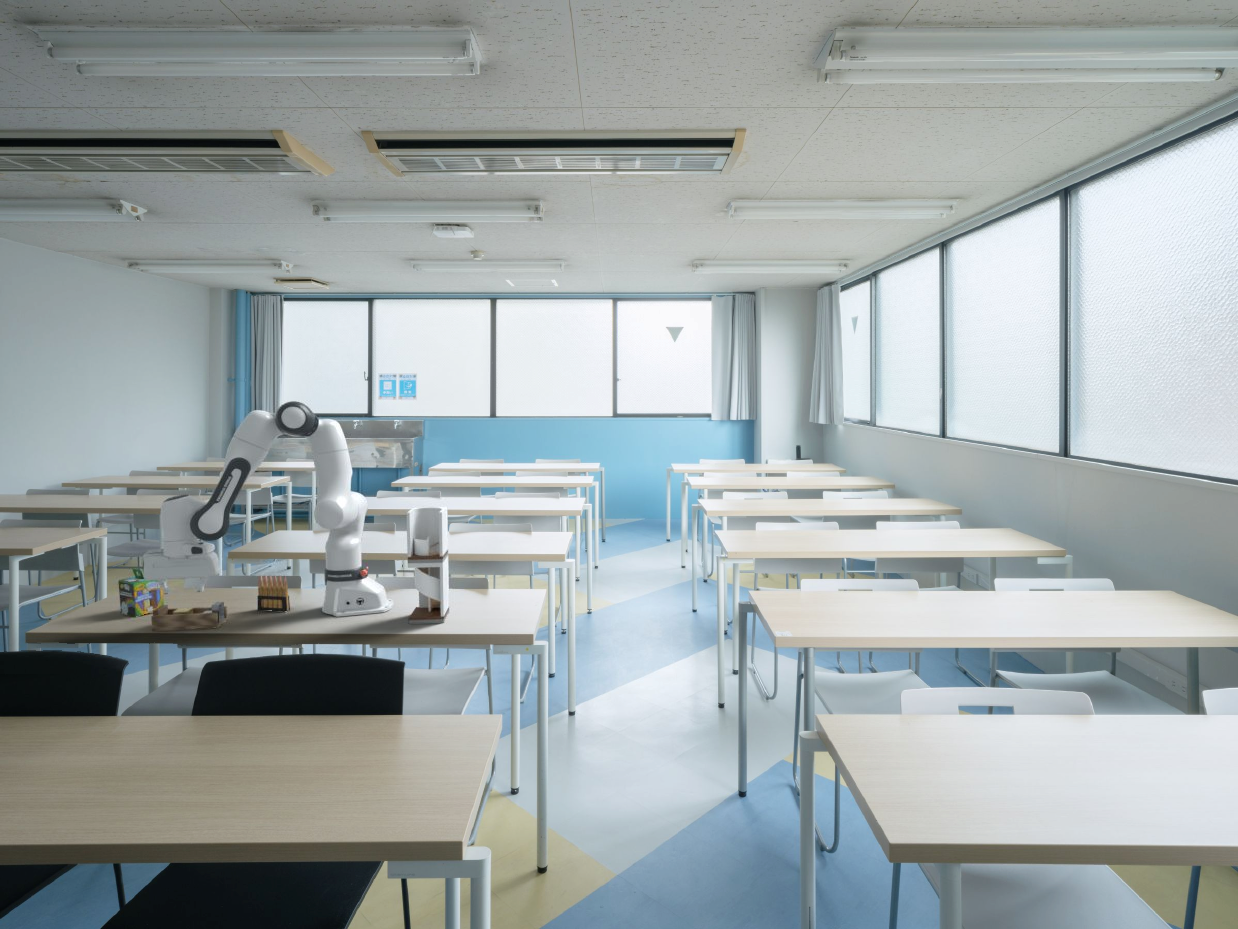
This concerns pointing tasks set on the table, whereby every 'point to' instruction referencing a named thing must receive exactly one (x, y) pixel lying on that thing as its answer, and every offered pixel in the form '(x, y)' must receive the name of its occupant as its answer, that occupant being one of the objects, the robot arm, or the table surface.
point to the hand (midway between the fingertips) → (183, 592)
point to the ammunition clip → (273, 594)
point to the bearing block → (184, 619)
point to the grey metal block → (218, 610)
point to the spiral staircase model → (429, 562)
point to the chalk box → (139, 595)
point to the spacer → (183, 611)
